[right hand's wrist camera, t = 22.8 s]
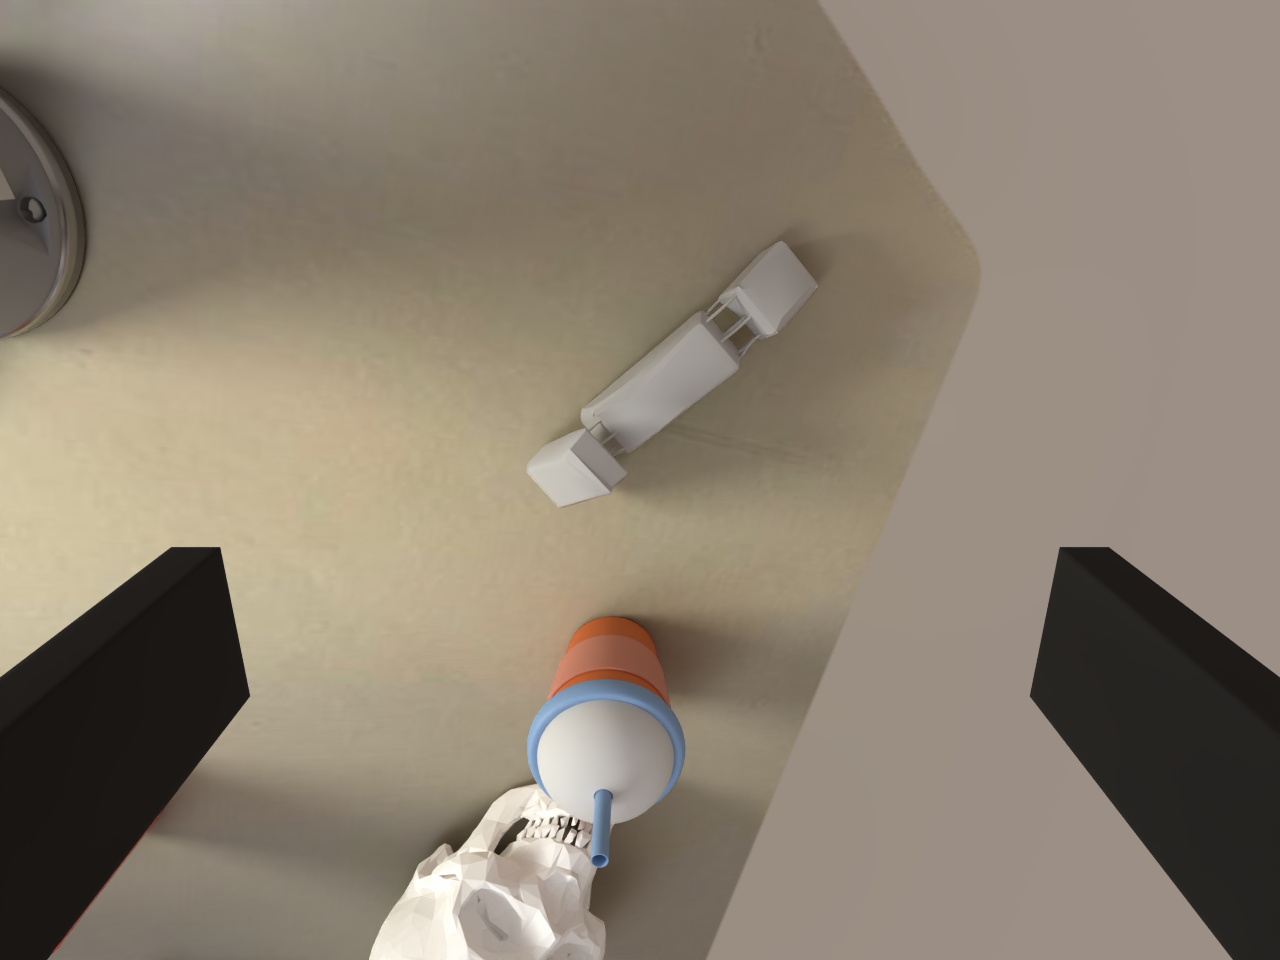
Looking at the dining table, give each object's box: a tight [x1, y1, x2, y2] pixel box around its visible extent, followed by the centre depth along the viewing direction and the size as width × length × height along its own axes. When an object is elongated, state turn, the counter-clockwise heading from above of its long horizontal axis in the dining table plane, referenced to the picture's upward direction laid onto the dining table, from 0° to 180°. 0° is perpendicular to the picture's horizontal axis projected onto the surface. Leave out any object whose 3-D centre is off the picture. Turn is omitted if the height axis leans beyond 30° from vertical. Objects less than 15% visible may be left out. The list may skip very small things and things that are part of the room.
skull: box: [369, 784, 614, 960], centre depth 54 cm, size 13×22×16 cm, turn 143°
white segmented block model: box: [527, 241, 818, 508], centre depth 45 cm, size 20×4×7 cm, turn 132°
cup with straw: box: [527, 617, 685, 868], centre depth 46 cm, size 9×9×18 cm
